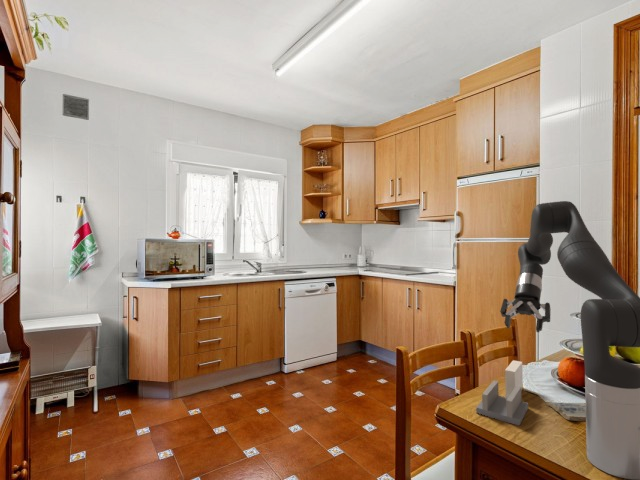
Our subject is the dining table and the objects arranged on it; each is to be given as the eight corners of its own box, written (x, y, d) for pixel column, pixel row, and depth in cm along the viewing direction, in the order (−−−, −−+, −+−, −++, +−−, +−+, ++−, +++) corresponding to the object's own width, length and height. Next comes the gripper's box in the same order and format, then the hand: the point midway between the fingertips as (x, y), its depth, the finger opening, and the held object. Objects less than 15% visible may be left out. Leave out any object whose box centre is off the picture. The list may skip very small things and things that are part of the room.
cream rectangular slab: (522, 388, 106) (522, 361, 106) (515, 400, 99) (514, 371, 99) (513, 386, 108) (513, 360, 108) (505, 397, 101) (505, 369, 100)
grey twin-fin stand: (528, 408, 94) (527, 388, 94) (519, 425, 85) (518, 403, 85) (488, 398, 100) (487, 379, 100) (476, 413, 92) (475, 392, 92)
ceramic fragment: (562, 416, 87) (544, 393, 96) (562, 428, 87) (543, 404, 97) (611, 419, 85) (587, 395, 95) (610, 431, 85) (586, 406, 95)
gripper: (504, 281, 125) (496, 319, 116) (551, 283, 115) (546, 325, 107) (507, 293, 129) (500, 331, 120) (554, 297, 119) (549, 338, 111)
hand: (522, 328), depth 113 cm, fingers open, 8 cm apart
